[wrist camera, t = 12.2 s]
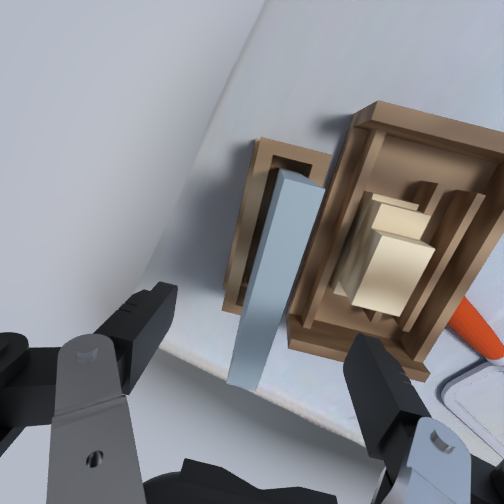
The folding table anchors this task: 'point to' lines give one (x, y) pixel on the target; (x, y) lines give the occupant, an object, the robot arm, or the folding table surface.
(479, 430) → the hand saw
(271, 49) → the folding table surface
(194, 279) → the folding table surface
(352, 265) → the offcut mid
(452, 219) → the rack
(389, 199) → the offcut long
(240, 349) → the panel
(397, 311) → the offcut short
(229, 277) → the stand
